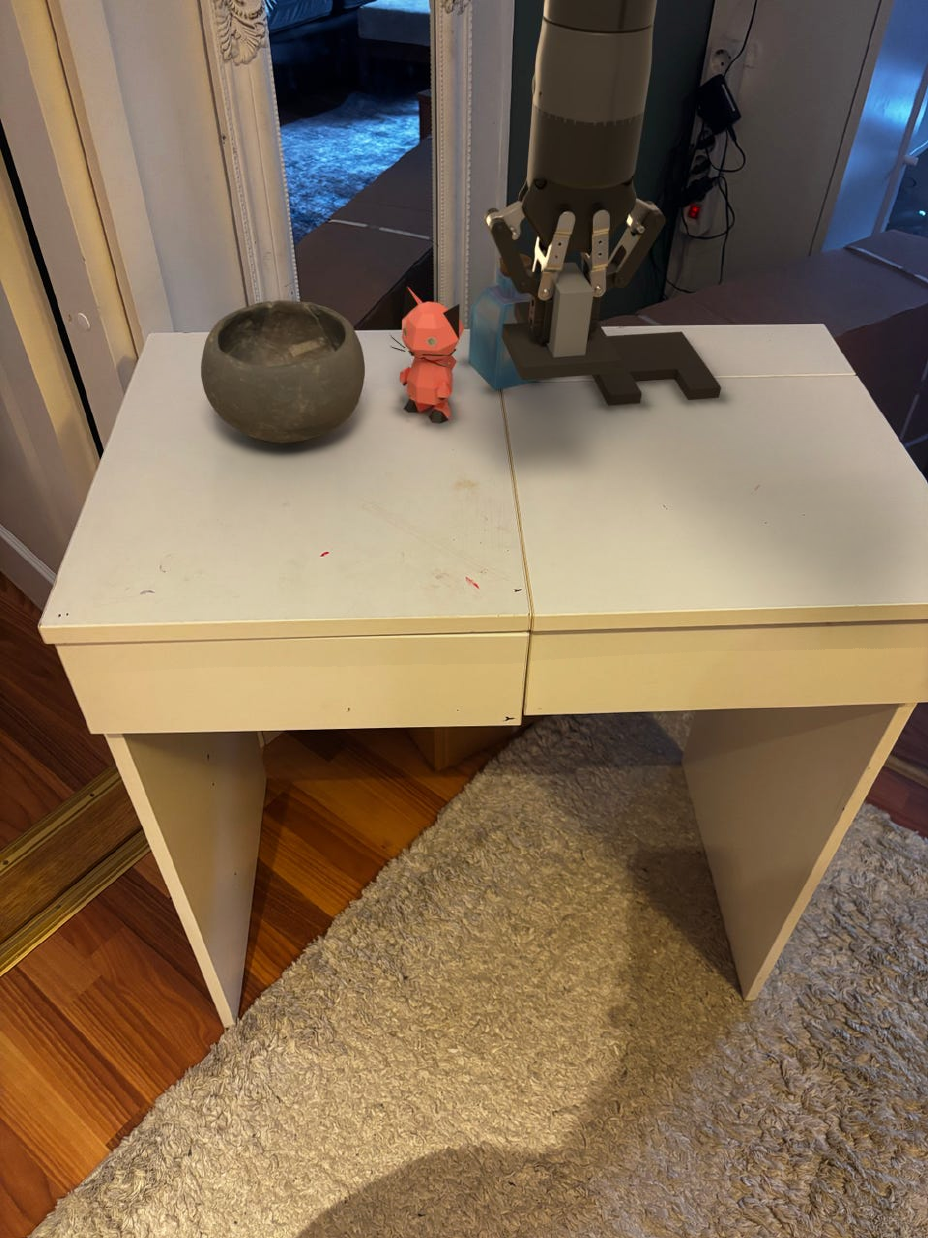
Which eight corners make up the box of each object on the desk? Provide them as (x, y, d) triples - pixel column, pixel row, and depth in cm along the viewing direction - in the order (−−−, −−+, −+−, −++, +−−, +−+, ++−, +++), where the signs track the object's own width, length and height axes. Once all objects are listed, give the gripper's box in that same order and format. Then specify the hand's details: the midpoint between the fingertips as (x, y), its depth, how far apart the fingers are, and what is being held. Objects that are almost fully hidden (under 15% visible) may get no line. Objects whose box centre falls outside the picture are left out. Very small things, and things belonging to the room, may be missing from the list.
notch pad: (679, 340, 105) (681, 331, 104) (719, 397, 97) (721, 387, 96) (577, 347, 103) (578, 337, 103) (608, 405, 95) (610, 395, 94)
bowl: (207, 394, 94) (189, 300, 87) (353, 379, 97) (348, 287, 90) (217, 480, 84) (198, 381, 77) (380, 460, 87) (376, 364, 80)
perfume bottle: (518, 351, 102) (527, 242, 94) (546, 378, 99) (558, 267, 90) (468, 362, 100) (473, 252, 92) (495, 390, 96) (502, 278, 88)
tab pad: (581, 310, 81) (591, 236, 76) (619, 373, 74) (632, 294, 69) (491, 316, 80) (496, 240, 75) (521, 380, 72) (528, 301, 68)
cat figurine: (382, 411, 93) (378, 297, 84) (422, 382, 97) (422, 270, 89) (441, 435, 90) (443, 319, 82) (479, 404, 94) (485, 291, 86)
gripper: (499, 119, 58) (486, 367, 70) (708, 112, 61) (660, 354, 73) (475, 83, 64) (466, 320, 76) (668, 79, 66) (629, 310, 78)
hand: (561, 336), depth 74 cm, fingers closed on tab pad, 2 cm apart
